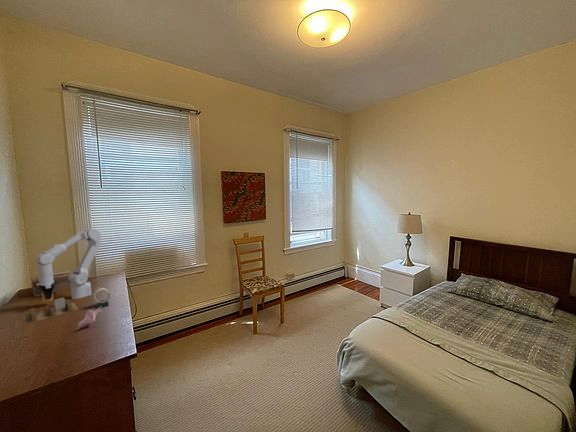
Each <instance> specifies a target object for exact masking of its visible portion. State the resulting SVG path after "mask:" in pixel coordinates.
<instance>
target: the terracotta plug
mask: <svg viewBox="0 0 576 432" xmlns="http://www.w3.org/2000/svg"><path fill="white" fill-rule="evenodd" d="M41 298H42V303H47V302H51V301H54V293H53V292H52V297H51V298H50V299H46V298H45V296H44V293H43V291H42V295H41Z"/></svg>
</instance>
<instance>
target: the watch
mask: <svg viewBox="0 0 576 432" xmlns="http://www.w3.org/2000/svg"><path fill="white" fill-rule="evenodd" d="M100 291H103V292H104V293H105V294H106V295H107V296H108V297H107V299H103V300H100V299H98V298H97V297H96V294H97V293H98V292H100ZM111 297H112V292H111V291H110V290H109V289H108V288H107V287H105V288H104V287H102V288H101V287H100V288H98V289H97V290H95V291H94V294H93V299H94V301H96V302H97V306H98V307H97V308H99V307H101V306H102V307H101V308H100V309H102V308H107V307H109V300H110V299H111Z"/></svg>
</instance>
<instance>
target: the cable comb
mask: <svg viewBox="0 0 576 432" xmlns="http://www.w3.org/2000/svg"><path fill="white" fill-rule="evenodd" d="M65 306H66V310H63V311H60V312H55V309H54V304H53V303H48V304H47V307H48V308H47V309H43V310H39V311H36V308H35V307H32V308H29V311H30V313H28V314H27V313H26V314H24V315H22V316H23V322H24V325H28V324H32V323H36V322H38V321H39V322H40V321H42V320H46V319H50V318H53V317H57V316H60V315H64V314H67V313H71V312H75V311H78V310H79V308H78V307H77V305H76V304H75V302H70V300H69V299H65Z"/></svg>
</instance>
